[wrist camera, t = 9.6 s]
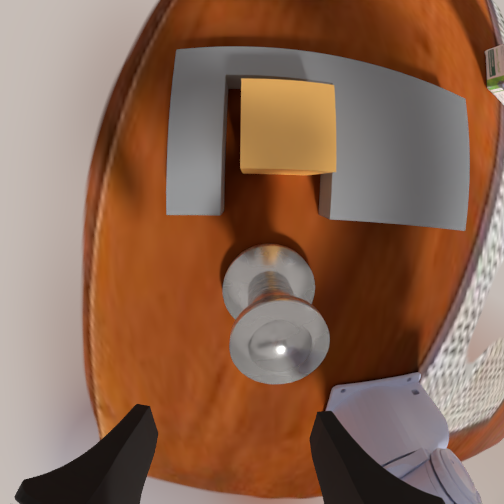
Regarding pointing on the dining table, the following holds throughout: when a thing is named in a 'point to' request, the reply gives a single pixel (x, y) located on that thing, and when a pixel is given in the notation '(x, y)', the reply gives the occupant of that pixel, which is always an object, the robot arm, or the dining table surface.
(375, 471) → the robot arm
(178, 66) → the board
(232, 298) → the bobbin post
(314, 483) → the dining table surface
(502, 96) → the syrup box
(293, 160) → the tab block
